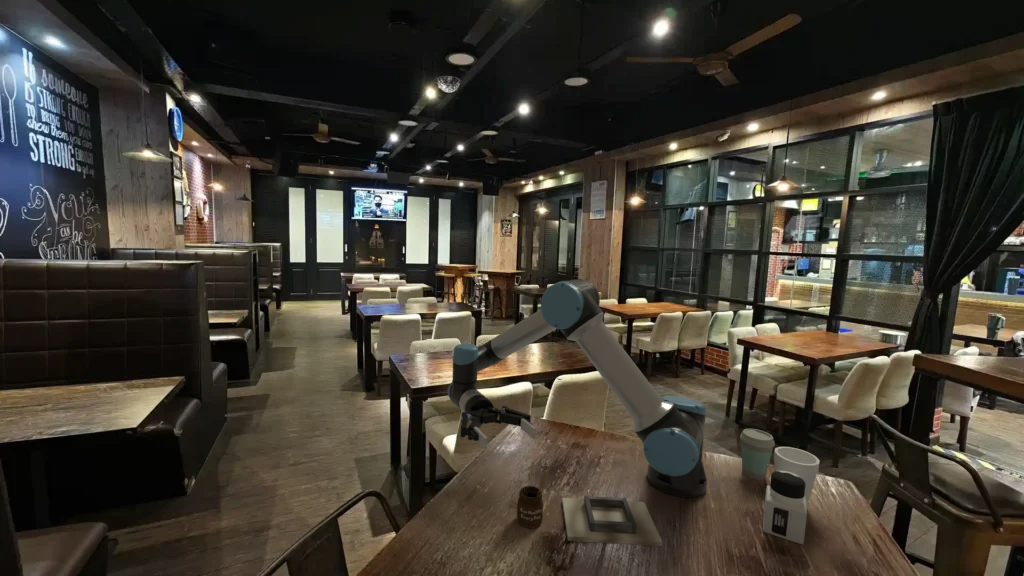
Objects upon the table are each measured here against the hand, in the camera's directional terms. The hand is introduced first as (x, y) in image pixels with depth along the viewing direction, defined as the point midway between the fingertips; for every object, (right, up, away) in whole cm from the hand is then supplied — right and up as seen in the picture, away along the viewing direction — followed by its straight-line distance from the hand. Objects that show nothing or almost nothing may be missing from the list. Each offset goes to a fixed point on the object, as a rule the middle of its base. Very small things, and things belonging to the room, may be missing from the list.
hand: (511, 438), depth 105 cm
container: (+62, -19, -7) cm, 65 cm away
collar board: (+22, -17, -7) cm, 29 cm away
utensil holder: (+4, -16, -7) cm, 18 cm away
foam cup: (+71, -18, +3) cm, 73 cm away
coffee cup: (+69, -16, +17) cm, 73 cm away
